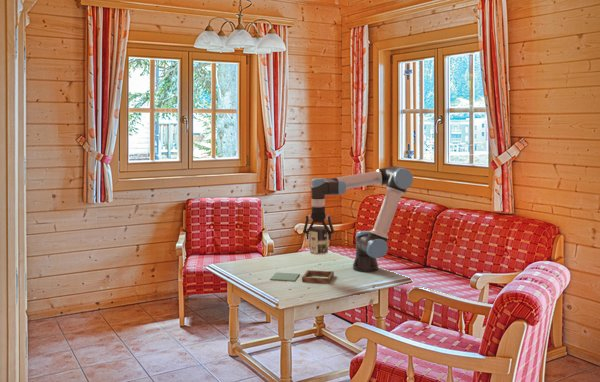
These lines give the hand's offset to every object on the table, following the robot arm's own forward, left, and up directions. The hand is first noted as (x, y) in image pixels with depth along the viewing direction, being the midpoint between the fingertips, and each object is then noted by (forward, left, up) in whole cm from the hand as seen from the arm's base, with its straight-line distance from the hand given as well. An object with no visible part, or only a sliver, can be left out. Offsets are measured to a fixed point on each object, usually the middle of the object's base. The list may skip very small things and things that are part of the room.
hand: (318, 245), depth 329 cm
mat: (+19, +1, -19) cm, 27 cm away
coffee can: (0, 0, -5) cm, 5 cm away
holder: (0, 0, -19) cm, 19 cm away
